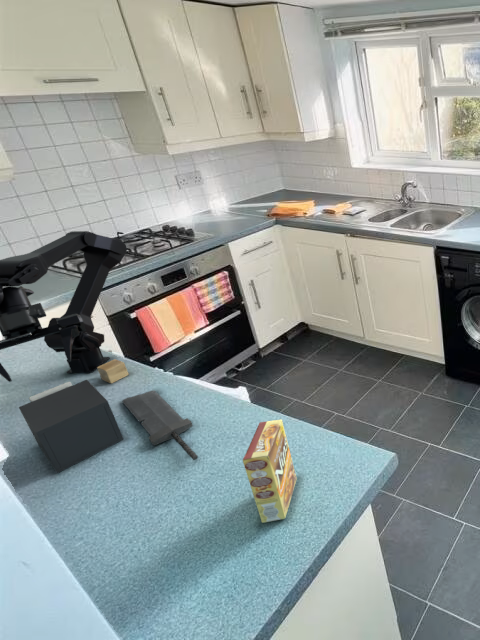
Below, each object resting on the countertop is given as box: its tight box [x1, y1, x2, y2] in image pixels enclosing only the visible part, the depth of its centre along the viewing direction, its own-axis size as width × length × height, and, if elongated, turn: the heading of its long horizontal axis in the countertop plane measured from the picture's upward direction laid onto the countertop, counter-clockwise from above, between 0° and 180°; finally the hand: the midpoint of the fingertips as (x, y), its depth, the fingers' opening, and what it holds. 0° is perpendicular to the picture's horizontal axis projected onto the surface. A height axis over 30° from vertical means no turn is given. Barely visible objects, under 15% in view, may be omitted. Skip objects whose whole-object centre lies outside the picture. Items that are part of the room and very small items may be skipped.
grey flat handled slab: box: [121, 390, 199, 461], centre depth 96 cm, size 7×35×2 cm, turn 55°
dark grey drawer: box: [28, 381, 73, 402], centre depth 92 cm, size 16×9×9 cm, turn 57°
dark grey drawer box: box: [18, 379, 125, 474], centre depth 90 cm, size 13×11×11 cm
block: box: [96, 358, 130, 384], centre depth 111 cm, size 4×4×4 cm
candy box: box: [242, 419, 298, 524], centre depth 77 cm, size 9×4×15 cm, turn 13°
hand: (41, 370), depth 94 cm, fingers open, 9 cm apart
